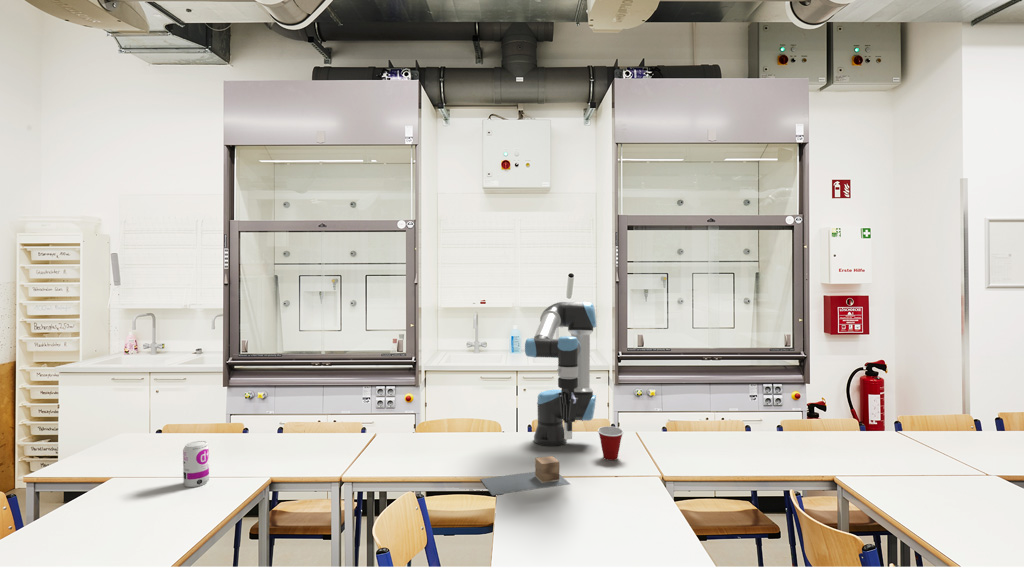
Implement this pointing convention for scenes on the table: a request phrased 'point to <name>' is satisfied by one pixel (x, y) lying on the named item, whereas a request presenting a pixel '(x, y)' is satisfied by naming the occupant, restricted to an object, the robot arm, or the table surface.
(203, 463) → the supplement can
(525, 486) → the rubber mat
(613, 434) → the plastic cup
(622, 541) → the table surface
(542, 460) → the light wooden block
